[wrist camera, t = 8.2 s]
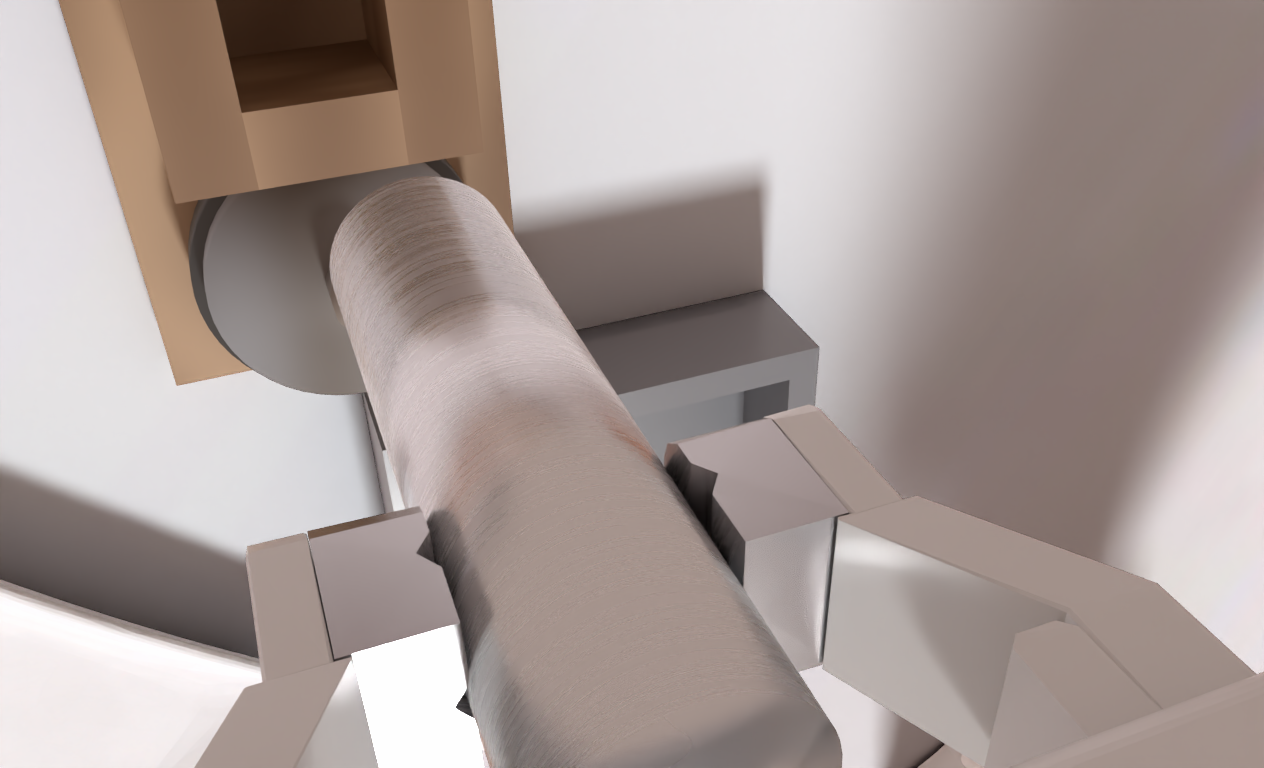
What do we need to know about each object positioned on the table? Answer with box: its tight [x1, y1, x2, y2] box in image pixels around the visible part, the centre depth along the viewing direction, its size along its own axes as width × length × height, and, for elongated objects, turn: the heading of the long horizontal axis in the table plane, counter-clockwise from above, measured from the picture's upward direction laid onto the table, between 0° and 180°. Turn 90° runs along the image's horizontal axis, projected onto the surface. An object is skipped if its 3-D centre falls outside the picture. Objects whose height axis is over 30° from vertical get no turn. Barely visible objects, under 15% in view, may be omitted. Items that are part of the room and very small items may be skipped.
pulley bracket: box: [59, 0, 514, 395], centre depth 28 cm, size 10×14×6 cm
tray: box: [362, 290, 819, 751], centre depth 40 cm, size 14×14×4 cm
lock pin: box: [330, 176, 842, 768], centre depth 11 cm, size 2×2×9 cm
